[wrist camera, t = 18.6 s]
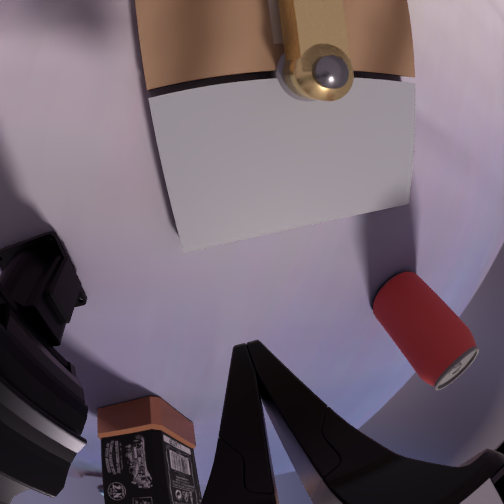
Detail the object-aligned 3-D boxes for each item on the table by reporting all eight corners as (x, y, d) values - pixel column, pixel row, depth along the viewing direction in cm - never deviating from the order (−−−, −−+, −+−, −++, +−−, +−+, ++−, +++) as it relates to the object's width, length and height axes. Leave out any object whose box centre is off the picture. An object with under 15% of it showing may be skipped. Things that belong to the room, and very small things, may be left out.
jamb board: (182, 242, 20) (184, 254, 19) (145, 66, 13) (142, 63, 12) (397, 197, 23) (409, 205, 21) (400, 57, 16) (415, 58, 15)
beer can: (396, 261, 27) (473, 342, 17) (424, 276, 30) (489, 345, 20) (359, 310, 29) (420, 397, 19) (391, 318, 32) (445, 391, 22)
